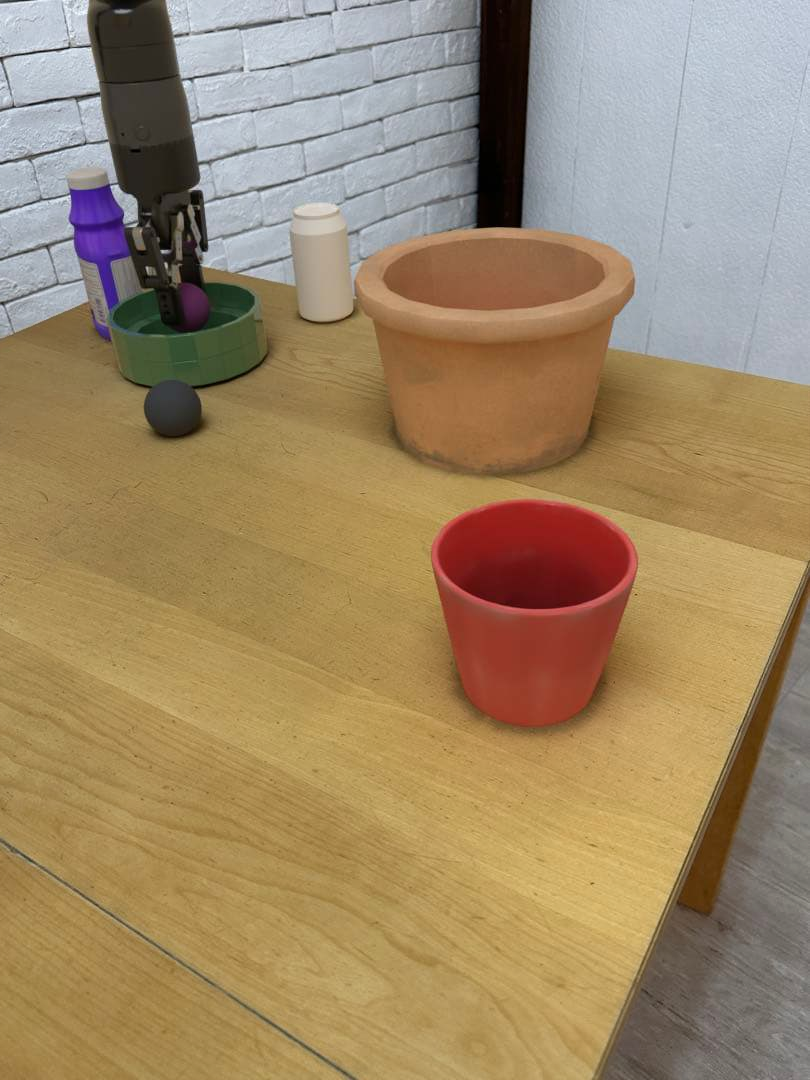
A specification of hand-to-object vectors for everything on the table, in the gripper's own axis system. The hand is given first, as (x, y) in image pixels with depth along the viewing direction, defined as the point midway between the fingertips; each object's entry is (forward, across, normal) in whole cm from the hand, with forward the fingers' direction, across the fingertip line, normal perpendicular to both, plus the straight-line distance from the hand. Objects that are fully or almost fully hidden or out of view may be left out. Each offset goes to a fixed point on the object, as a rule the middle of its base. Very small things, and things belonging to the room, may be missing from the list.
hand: (185, 311), depth 91 cm
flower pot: (+6, +43, +37) cm, 57 cm away
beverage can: (+6, -13, +11) cm, 18 cm away
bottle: (+6, -7, -11) cm, 14 cm away
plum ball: (+2, 0, 0) cm, 2 cm away
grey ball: (+5, +15, +4) cm, 16 cm away
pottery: (+6, +12, +32) cm, 35 cm away
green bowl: (+5, 0, 0) cm, 5 cm away
